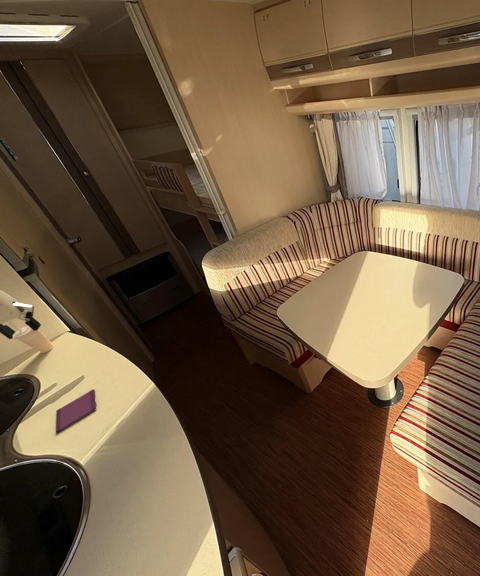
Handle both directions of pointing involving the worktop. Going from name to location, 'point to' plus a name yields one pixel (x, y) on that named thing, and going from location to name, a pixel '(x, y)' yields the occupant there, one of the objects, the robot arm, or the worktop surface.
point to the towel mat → (75, 410)
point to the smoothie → (33, 338)
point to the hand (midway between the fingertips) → (25, 331)
